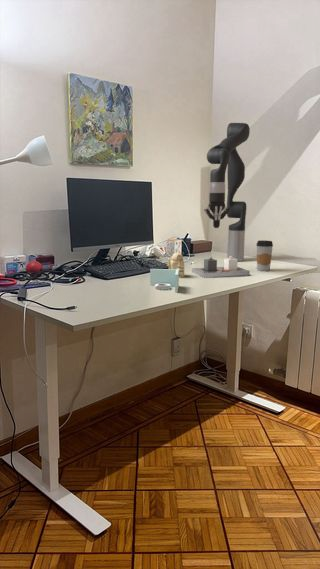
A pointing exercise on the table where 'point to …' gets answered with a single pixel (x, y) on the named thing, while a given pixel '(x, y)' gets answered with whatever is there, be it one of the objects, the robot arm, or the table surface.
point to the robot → (177, 263)
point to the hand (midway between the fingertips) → (216, 227)
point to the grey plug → (210, 264)
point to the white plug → (230, 263)
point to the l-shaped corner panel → (164, 278)
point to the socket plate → (221, 272)
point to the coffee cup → (264, 255)
